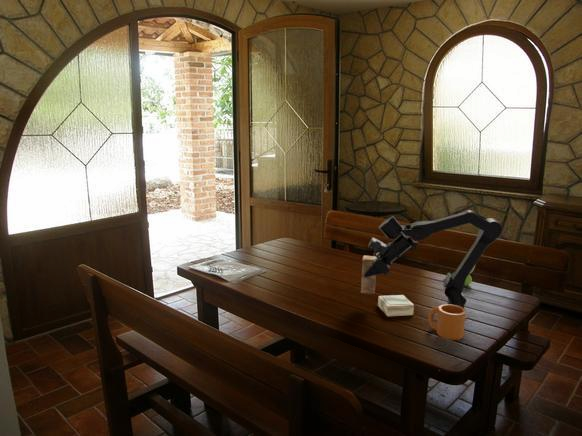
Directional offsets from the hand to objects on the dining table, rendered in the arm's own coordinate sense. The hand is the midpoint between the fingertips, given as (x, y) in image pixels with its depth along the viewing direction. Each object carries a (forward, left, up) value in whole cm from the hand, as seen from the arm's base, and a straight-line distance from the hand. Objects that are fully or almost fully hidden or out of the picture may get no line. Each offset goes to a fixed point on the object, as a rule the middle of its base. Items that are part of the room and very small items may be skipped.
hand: (365, 273), depth 179 cm
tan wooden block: (0, -1, -7) cm, 7 cm away
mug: (-24, -21, -14) cm, 35 cm away
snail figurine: (+17, -53, -14) cm, 58 cm away
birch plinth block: (-5, -11, -13) cm, 18 cm away
